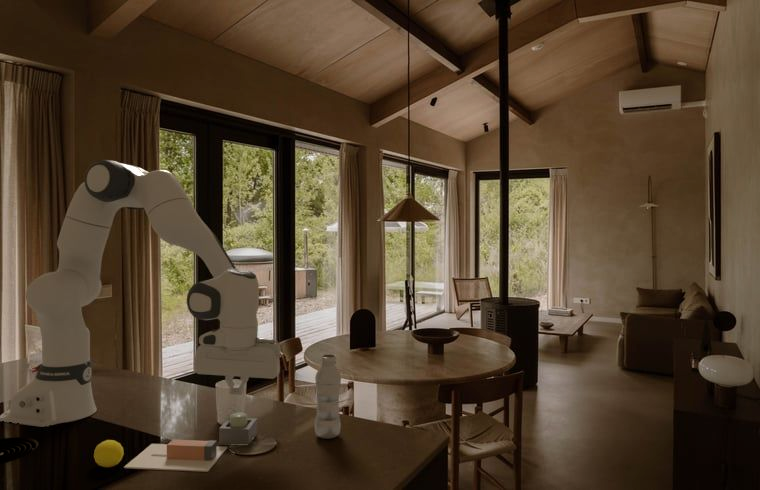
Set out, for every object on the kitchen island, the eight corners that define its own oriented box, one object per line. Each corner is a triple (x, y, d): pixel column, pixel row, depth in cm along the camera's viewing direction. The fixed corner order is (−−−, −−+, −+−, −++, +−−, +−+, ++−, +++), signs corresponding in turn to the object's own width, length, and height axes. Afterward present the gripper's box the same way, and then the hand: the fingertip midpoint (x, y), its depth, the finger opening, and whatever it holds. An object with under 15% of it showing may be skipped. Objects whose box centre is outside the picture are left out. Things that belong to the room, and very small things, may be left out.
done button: (227, 439, 125) (227, 418, 125) (233, 432, 129) (233, 412, 129) (244, 439, 125) (244, 418, 125) (249, 433, 129) (249, 412, 129)
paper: (124, 468, 111) (124, 466, 111) (151, 444, 123) (151, 443, 123) (207, 471, 110) (207, 470, 110) (227, 448, 122) (227, 446, 122)
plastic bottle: (320, 443, 126) (321, 360, 125) (310, 433, 132) (311, 354, 131) (344, 439, 129) (346, 358, 128) (334, 429, 135) (335, 352, 134)
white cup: (237, 427, 135) (238, 388, 135) (209, 424, 137) (209, 386, 136) (251, 417, 143) (251, 380, 142) (224, 414, 144) (224, 378, 144)
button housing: (219, 445, 124) (219, 428, 124) (229, 433, 131) (229, 417, 131) (248, 446, 124) (248, 429, 123) (256, 434, 131) (257, 418, 130)
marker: (166, 458, 115) (166, 444, 115) (172, 452, 119) (172, 438, 118) (211, 460, 115) (211, 446, 115) (216, 454, 118) (216, 440, 118)
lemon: (129, 465, 114) (132, 441, 113) (107, 476, 109) (110, 451, 108) (106, 455, 116) (109, 432, 116) (84, 465, 112) (86, 440, 111)
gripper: (284, 336, 129) (282, 392, 130) (203, 331, 131) (201, 387, 131) (277, 342, 123) (275, 400, 123) (192, 336, 124) (190, 395, 125)
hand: (236, 393), depth 127 cm, fingers closed
